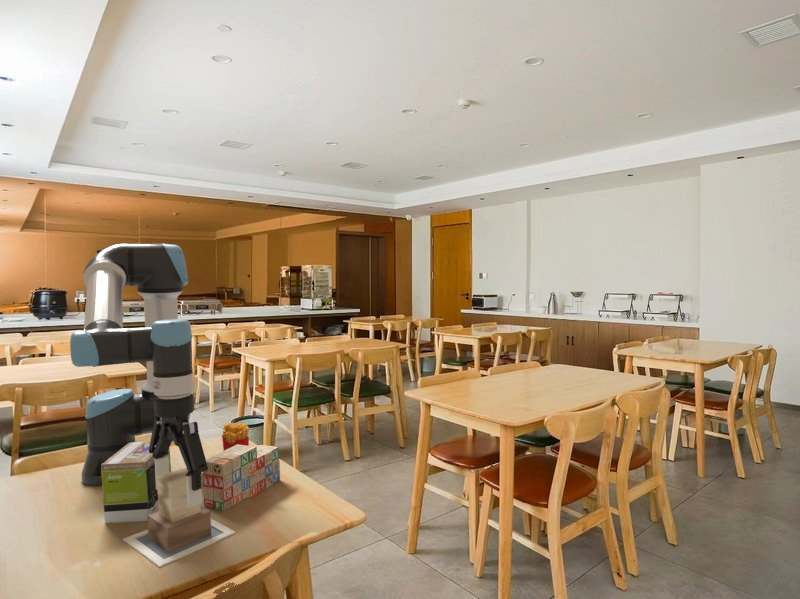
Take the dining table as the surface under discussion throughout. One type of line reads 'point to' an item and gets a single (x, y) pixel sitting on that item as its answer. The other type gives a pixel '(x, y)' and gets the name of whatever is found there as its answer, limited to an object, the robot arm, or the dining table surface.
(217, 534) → the board
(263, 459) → the stack of blocks
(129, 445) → the tea box
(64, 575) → the dining table surface
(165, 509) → the beech brick
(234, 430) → the french fries
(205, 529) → the walnut base block
